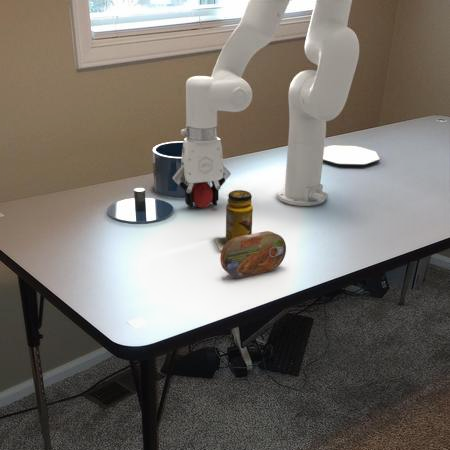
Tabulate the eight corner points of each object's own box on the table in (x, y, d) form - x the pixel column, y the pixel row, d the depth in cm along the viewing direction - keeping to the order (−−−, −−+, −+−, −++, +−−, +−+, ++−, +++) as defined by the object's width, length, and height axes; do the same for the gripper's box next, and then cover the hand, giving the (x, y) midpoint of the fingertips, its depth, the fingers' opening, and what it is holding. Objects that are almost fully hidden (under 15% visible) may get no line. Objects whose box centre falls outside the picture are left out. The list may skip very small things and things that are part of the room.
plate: (382, 169, 201) (383, 164, 200) (319, 167, 201) (319, 162, 200) (372, 150, 216) (372, 146, 215) (313, 149, 216) (313, 144, 215)
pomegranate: (214, 205, 173) (214, 175, 168) (211, 213, 168) (211, 182, 163) (192, 204, 173) (192, 174, 168) (189, 212, 168) (188, 181, 164)
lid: (186, 216, 166) (185, 192, 162) (129, 231, 158) (127, 206, 154) (151, 197, 176) (150, 174, 173) (96, 210, 168) (93, 186, 165)
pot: (221, 192, 181) (222, 151, 174) (174, 203, 173) (173, 161, 167) (189, 177, 191) (189, 138, 184) (144, 187, 183) (141, 147, 177)
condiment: (256, 249, 151) (258, 197, 143) (220, 251, 149) (221, 200, 142) (248, 236, 156) (250, 186, 149) (213, 239, 155) (214, 189, 147)
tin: (224, 281, 137) (225, 243, 132) (217, 275, 139) (218, 238, 134) (285, 268, 142) (288, 231, 137) (278, 262, 145) (280, 226, 140)
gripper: (172, 139, 154) (174, 214, 165) (240, 134, 159) (237, 206, 170) (163, 131, 159) (166, 204, 170) (228, 126, 165) (227, 196, 175)
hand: (202, 204), depth 170 cm, fingers closed on pomegranate, 5 cm apart
